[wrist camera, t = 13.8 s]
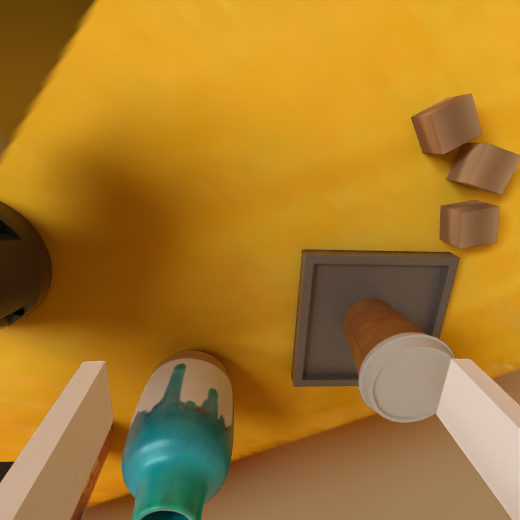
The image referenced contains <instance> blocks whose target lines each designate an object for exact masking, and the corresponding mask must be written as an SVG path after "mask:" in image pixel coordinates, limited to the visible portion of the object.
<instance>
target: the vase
mask: <svg viewBox="0 0 520 520" xmlns="http://www.w3.org/2000/svg"><path fill="white" fill-rule="evenodd" d="M233 435H234V405H233V392H232V385H231V381H230V377H229V375H228V373H227V371H226V369H225V368H224V366H223V365H222V364H221V363H220V362H219V361H218V360H217V359H216V358H214V357H213V356H211V355H209V354H207V353H204V352H201V351H193V350H190V351H182V352H179V353H176V354H173V355H171V356H169V357H168V358H166V359H165V360H164V361H162V362H161V363H160V364H159V365H158V366H157V368H156V369H155V370H154V372H153V373H152V375H151V376H150V378H149V380H148V382H147V384H146V386H145V388H144V390H143V393H142V395H141V397H140V399H139V402H138V404H137V407H136V410H135V413H134V415H133V418H132V421H131V424H130V428H129V431H128V434H127V438H126V442H125V447H124V451H123V457H122V473H123V478H124V482H125V484H126V487H127V488H128V490H129V491H130V493H131V494H132V495H133V496H134V497H135V498H136V501H135V506H134V511H133V515H132V520H201V515H202V509H203V504H204V503H206V502H207V501H209V500H210V499H211V498H213V497H214V496H215V495H216V494H217V493H218V491H219V490H220V488H221V487H222V485H223V484H224V482H225V480H226V477H227V475H228V471H229V467H230V462H231V456H232V448H233Z"/></svg>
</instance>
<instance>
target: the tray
mask: <svg viewBox="0 0 520 520" xmlns="http://www.w3.org/2000/svg"><path fill="white" fill-rule="evenodd" d="M458 262H459V257H457V256H455V255H454V254H452V253H450V252H407V251H353V250H302V261H301V272H300V284H299V295H298V306H297V318H296V329H295V341H294V352H293V364H292V375H291V377H292V381H293V386H294V387H306V386H359V384H358V381H359V376H358V373H357V370H356V367H355V363H354V360H353V357H352V354H351V351H350V348H349V345H348V342H347V339H346V335H345V332H344V329H343V318H344V315H345V313H346V311H347V310H348V309H349V308H350V307H351V306H352V305H353V304H355V303H356V302H358V301H360V300H363V299H369V298H373V299H378V300H381V301H383V302H384V303H386V304H387V305H388V306H390V307H391V308H392V309H393V310H395V311H396V312H398V313H399V314H400V315H402V316H403V317H404V318H405V319H407V320H408V321H410V322H411V323H412V324H414V325H415V326H416V327H418V328H419V329H420V330H422V331H423V332H425V333H426V334H427V335H430V336H433V337H436V338H438V339H439V337H440V333H441V329H442V325H443V321H444V317H445V313H446V309H447V305H448V301H449V298H450V294H451V290H452V286H453V282H454V278H455V274H456V270H457V266H458Z"/></svg>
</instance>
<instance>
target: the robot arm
mask: <svg viewBox="0 0 520 520" xmlns="http://www.w3.org/2000/svg"><path fill="white" fill-rule="evenodd" d="M50 282H51V263H50V258H49V255H48V252H47V249H46V247H45V245H44V243H43V241H42V239H41V238H40V236H39V235H38V233H37V232H36V231H35V229H34V228H33V227H32V226H31V225H30V224H29V223H28V222H27V221H26V220H25V219H24V218H23V217H22V216H21V215H19V214H18V213H17V212H16V211H14V210H13V209H11V208H10V207H8V206H6V205H4V204H3V203H0V329H2V328H5V327H7V326H10V325H12V324H14V323H16V322H18V321H19V320H21V319H22V318H24V317H25V316H26V315H28V314H29V313H30V312H31V311H32V310H33V309H35V308H36V307H37V306H38V305H39V304H40V303H41V302H42V300H43V299H44V297H45V296H46V294H47V291H48V289H49V286H50ZM436 414H437V416H438V417H439V419H440V420H441V422H442V423H443V424H444V426H445V427H446V428H447V430H448V431H449V433H450V434H451V435H452V437H453V438H454V440H455V441H456V442H457V444H458V445H459V446H460V448H461V449H462V450H463V452H464V453H465V455H466V456H467V457H468V459H469V460H470V462H471V463H472V464H473V465H474V467H475V468H476V470H477V471H478V473H479V474H480V475H481V477H482V478H483V480H484V481H485V482H486V484H487V485H488V486H489V488H490V489H491V491H492V492H493V493H494V495H495V496H496V498H497V499H498V500H499V502H500V503H501V504H502V506H503V507H504V509H505V510H506V511H507V513H508V514H509V515H510V517H511V518H512V520H520V405H519V404H518V403H516V402H515V401H514V400H513V399H512V398H511V397H510V396H509V395H508V394H507V393H506V392H505V391H504V390H503V389H501V388H500V387H499V386H498V385H497V384H496V383H495V382H494V381H493V380H492V379H491V378H490V377H489V376H488V375H487V374H486V373H485V372H484V371H483V370H482V369H480V368H479V367H478V366H477V365H476V364H475V363H474V362H473V361H472V360H471V359H451V362H450V365H449V369H448V373H447V376H446V380H445V383H444V387H443V391H442V394H441V398H440V402H439V405H438V409H437V412H436ZM112 423H113V413H112V405H111V398H110V391H109V383H108V376H107V369H106V361H83V363H82V364H81V366H80V367H79V369H78V370H77V371H76V373H75V374H74V376H73V377H72V379H71V380H70V382H69V383H68V385H67V386H66V388H65V389H64V390H63V392H62V393H61V395H60V396H59V398H58V399H57V401H56V402H55V404H54V405H53V407H52V408H51V409H50V411H49V412H48V414H47V415H46V417H45V418H44V420H43V421H42V423H41V424H40V426H39V427H38V429H37V430H36V431H35V433H34V434H33V436H32V437H31V439H30V440H29V442H28V443H27V445H26V446H25V448H24V449H23V450H22V452H21V453H20V455H19V456H18V458H17V459H16V461H15V462H0V520H71V517H72V515H73V513H74V510H75V508H76V506H77V503H78V501H79V499H80V497H81V494H82V492H83V490H84V487H85V485H86V483H87V480H88V478H89V476H90V473H91V471H92V469H93V467H94V464H95V462H96V460H97V457H98V455H99V453H100V450H101V448H102V446H103V444H104V441H105V439H106V437H107V434H108V432H109V430H110V427H111V425H112Z"/></svg>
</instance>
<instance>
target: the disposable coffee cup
mask: <svg viewBox="0 0 520 520" xmlns="http://www.w3.org/2000/svg"><path fill="white" fill-rule="evenodd" d="M343 329H344V332H345V335H346V339H347V342H348V345H349V348H350V351H351V354H352V357H353V360H354V363H355V367H356V370H357V373H358V376H359V381H358V384H359V391H360V393H361V396H362V398H363V400H364V402H365V403H366V404H367V405H368V406H369V407H370V408H371V409H373V410H374V411H376V412H377V413H378V414H379V415H380V416H382V417H384V418H386V419H388V420H391V421H395V422H405V423H408V422H414V421H419V420H423V419H425V418H428V417H430V416H432V415H434V414H435V413H436V412H437V409H438V405H439V402H440V398H441V394H442V391H443V387H444V383H445V380H446V376H447V373H448V369H449V365H450V362H451V359H455V357H454V354H453V352H452V351H451V349H450V348H449V346H448V345H446V344H445V343H444V342H443V341H441V340H439V339H438V338H436V337H433V336H430V335H427V334H426V333H425V332H423V331H422V330H420V329H419V328H418V327H416V326H415V325H414V324H412V323H411V322H410V321H408V320H407V319H405V318H404V317H403V316H402V315H400V314H399V313H398V312H396V311H395V310H393V309H392V308H391V307H390V306H388V305H387V304H386V303H384V302H383V301H381V300H378V299H373V298H369V299H363V300H360V301H358V302H356V303H355V304H353V305H352V306H351V307H350V308H349V309H348V310H347V311H346V313H345V315H344V318H343Z"/></svg>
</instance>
